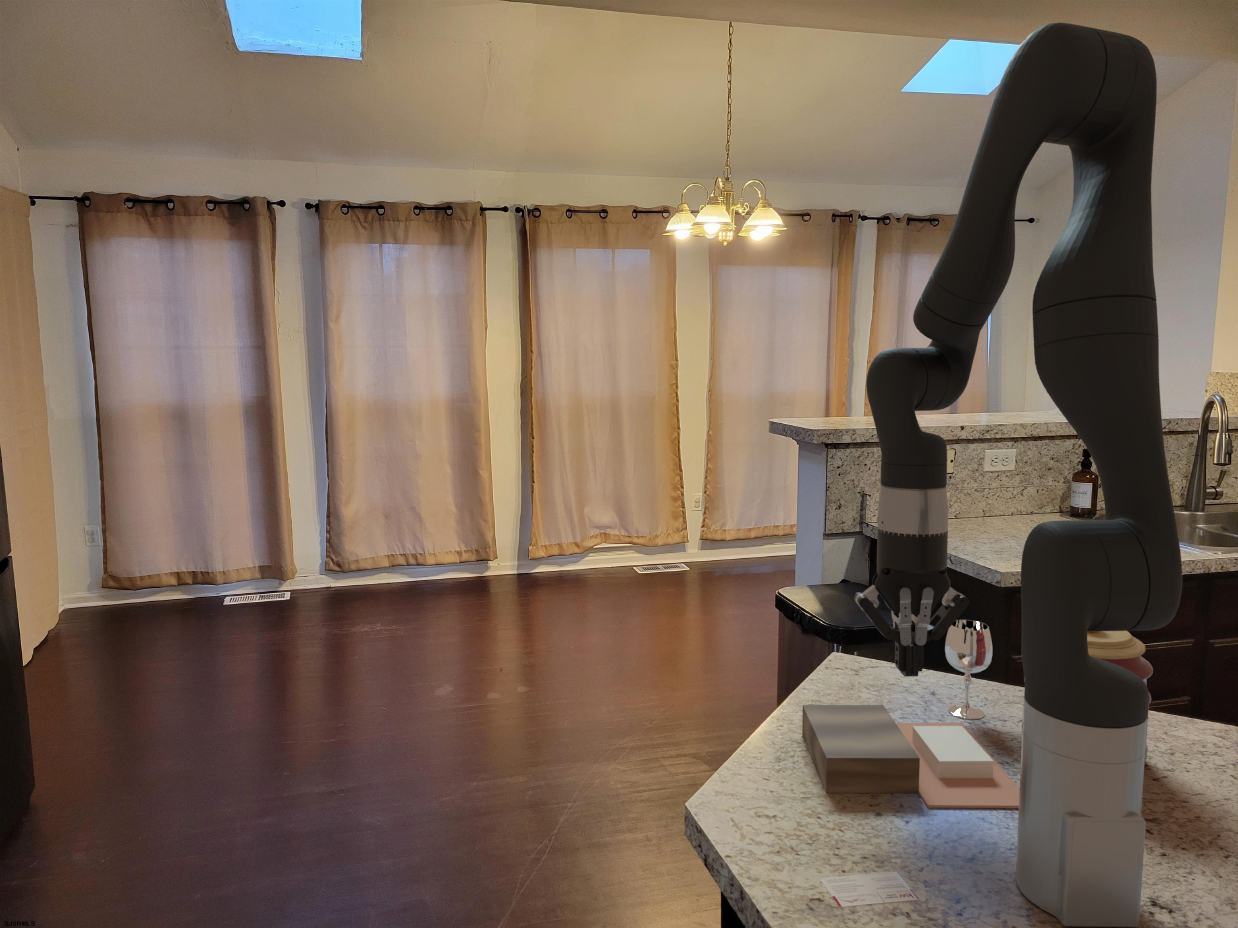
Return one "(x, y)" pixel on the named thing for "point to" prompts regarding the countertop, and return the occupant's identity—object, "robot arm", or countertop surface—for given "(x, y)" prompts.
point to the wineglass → (968, 658)
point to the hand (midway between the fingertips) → (909, 674)
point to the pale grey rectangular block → (952, 752)
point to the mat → (962, 782)
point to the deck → (859, 749)
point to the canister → (1120, 654)
